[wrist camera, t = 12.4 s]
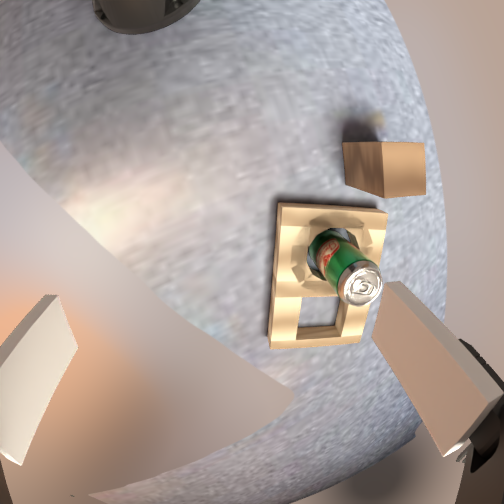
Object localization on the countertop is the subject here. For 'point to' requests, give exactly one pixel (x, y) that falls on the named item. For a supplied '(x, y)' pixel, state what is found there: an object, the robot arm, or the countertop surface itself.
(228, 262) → the countertop surface
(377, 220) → the socket board
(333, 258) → the soda can
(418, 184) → the walnut square peg
